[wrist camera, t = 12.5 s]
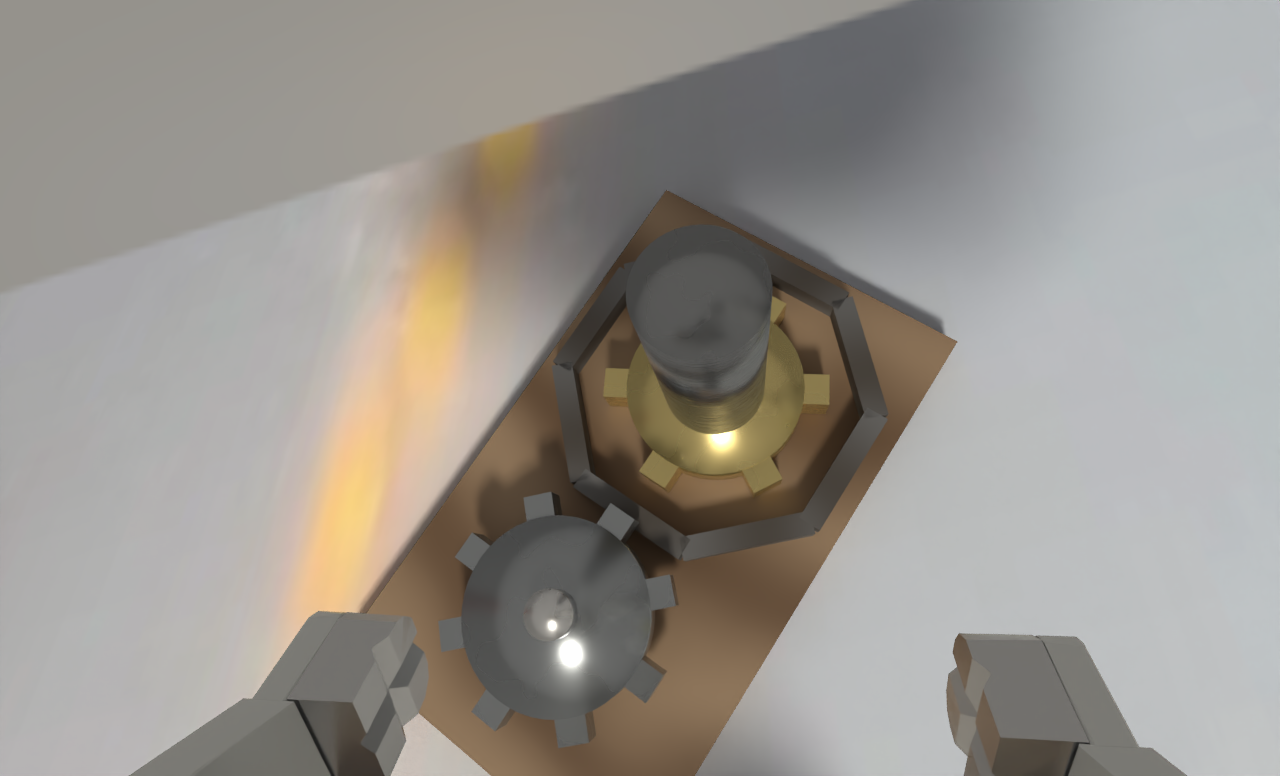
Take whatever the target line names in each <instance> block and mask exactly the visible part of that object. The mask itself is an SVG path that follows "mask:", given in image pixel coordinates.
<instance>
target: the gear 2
mask: <svg viewBox="0 0 1280 776" xmlns="http://www.w3.org/2000/svg"><path fill="white" fill-rule="evenodd" d="M772 293H773V287H772V278H771V273H770V270H769V267H768V265H767V263H766V261H765V259H764V257H763V256H762V254H761V253H760V251H759V250H758V249H757V248H756V247H755V246H754V245H753V244H752V243H751V242H750V241H749V240H748V239H746V238H745V237H743V236H742V235H740V234H738V233H737V232H734V231H732V230H730V229H727V228H724V227H720V226H715V225H704V224H700V225H690V226H684V227H681V228H677V229H674V230H672V231H670V232H667V233H665V234H664V235H662V236H660V237H658V238H657V239H656V240H654V241H653V242H652V243H650V244H649V245H648V246H647V247H646V248H645V249H644V250H643V252H642V253H641V254H640V255H639V256H638V258H637V260H636V261H635V263H634V265H633V267H632V269H631V271H630V274H629V277H628V281H627V286H626V304H627V309H628V313H629V316H630V319H631V321H632V323H633V326H634V328H635V330H636V332H637V335H638V337H639V339H640V342H641V344H640V345H639V347H638V349H637V350H636V352H635V354H634V357H633V359H632V361H631V365H630V368H629V369H617V368H606V371H605V382H604V393H603V397H604V398H605V400H606V401H607V402H608V404H609V405H610V406H623V407H629V411H630V415H631V417H632V420H633V422H634V425H635V427H636V428H637V430H638V432H639V434H640V435H641V437H642V438H643V440H644V441H645V442H646V444H647V445H648V446H649V448H650V449H651V450H652V453H651V454H650V456H649V457H648V458H647V460H646V461H645V463H644V464H643V466H642V467H641V469H640V470H639V472H640V473H641V474H642V475H643V476H644V477H645V478H647V479H648V480H650V481H651V482H653V483H654V484H656V485H657V486H659V487H660V488H662V489H663V490H665V491H666V492H668V493H669V492H670V491H671V489H672V488H673V486H674V485H675V483H676V482H677V480H678V479H679V477H680V476H681V474H682V473H684V474H686V475H689V476H692V477H696V478H700V479H708V480H726V479H733V478H737V477H741V476H742V477H743V479H744V481H745V483H746V485H747V486H748V488H749V490H750V492H751V494H752V496H753V498H755V497H757V496H759V495H761V494H763V493H765V492H767V491H769V490H771V489H773V488H775V487H777V486H779V485H781V482H782V479H783V478H782V477H781V475H780V473H779V471H778V469H777V468H776V466H775V464H774V462H773V459H774V458H775V457H776V456H777V455H778V454H779V453H780V452H781V451H782V450H783V449H784V447H785V446H786V445H787V443H788V442H789V440H790V438H791V437H792V435H793V433H794V431H795V428H796V426H797V423H798V421H799V417H800V414H801V413H806V414H826V411H827V409H828V407H829V379H830V375H822V374H804V373H803V368H802V365H801V362H800V359H799V356H798V354H797V352H796V350H795V348H794V346H793V344H792V343H791V341H790V340H789V338H788V337H787V336H786V335H785V334H784V332H783V331H782V330H781V329H780V328H779V325H780V324H781V322H782V321H783V319H784V318H785V311H786V303H784V302H782V301H781V300H779V299H777V298H775V297H773V296H772Z"/></svg>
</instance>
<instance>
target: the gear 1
mask: <svg viewBox="0 0 1280 776" xmlns="http://www.w3.org/2000/svg"><path fill="white" fill-rule="evenodd" d="M524 505H525V512H526V519H527V521H526V522H524V523H522V524H519V525H517V526H515V527H514V528H512V529H510V530H509V531H507V532H506V533H504V534H503V535H502V536H501V537H499V538H498V539H497V540H496V541H495V542H493V541H491V540H490V539H489V538H487V537H486V536H485V535H482V534H477V533H471V535H470V536H469V538H468V539H467V540H466V542H465V543H464V545H463V546H462V548H461V549H460V550H459V552H458V553H457V555H456V556H455V558H457V559H458V560H459V561H461V562H462V563H463V564H464V565H466V566H467V567H468V568H470V569H471V570H472V571H473V572H472V574H471V576H470V578H469V581H468V584H467V587H466V590H465V593H464V599H463V604H462V614H461V617H456V618H451V619H446V620H441V621H438V623H439V634H440V644H441V652H445V651H450V650H455V649H460V648H465V651H466V654H467V657H468V660H469V662H470V664H471V666H472V669H473V671H474V672H475V674H476V676H477V677H478V679H479V681H480V682H481V683H482V684H483V686H484V687H485V688H486V690H485V692H484V693H483V695H482V696H481V698H480V699H479V701H478V702H477V704H476V705H475V707H474V708H473V710H472V711H471V712H472V713H473V714H475V715H476V716H477V717H478V718H479V719H481V720H482V721H483V722H484V723H485V724H487V725H488V726H489V727H490V728H491V729H493V730H494V731H497V730H498V729H500V728H502V727H504V726H505V725H507V723H508V722H509V720H510V718H511V717H512V715H513V714H514V712H515V711H516V712H518V713H520V714H523V715H526V716H529V717H533V718H538V719H544V720H554V722H555V729H556V736H557V743H558V748H563V747H568V746H574V745H579V744H585V743H589V742H590V741H591V740H592V739H593V738H594V737H595V736H596V731H595V724H594V718H593V710H595V709H597V708H598V707H600V706H602V705H603V704H605V703H606V702H608V701H609V700H610V699H611V698H613V697H614V696H615V695H616V694H618V693H619V692H620V691H621V690H623V688H624V687H625V688H626V689H627V690H629V691H630V692H631V693H633V694H634V695H635V696H637V697H638V698H639V699H640V700H642V701H643V702H644V703H647V701H648V700H649V699H650V698H651V696H652V695H653V693H654V692H655V690H656V688H657V687H658V685H659V684H660V682H661V680H662V679H663V677H664V676H665V674H666V672H667V671H666V670H665V669H663V668H662V667H660V666H659V665H658V664H656V663H655V662H654V661H652V660H651V659H650V658H648V657H647V656H646V655H647V653H648V650H649V648H650V645H651V641H652V637H653V633H654V625H655V610H658V609H663V608H668V607H673V606H678V605H679V602H678V597H677V592H676V587H675V582H674V577H673V575H665V576H660V577H655V578H650V579H649V577H648V575H647V572H646V570H645V568H644V566H643V564H642V563H641V561H640V559H639V558H638V556H637V555H636V554H635V552H634V551H633V550H632V549H631V547H630V546H629V545H628V544H627V543H626V542H627V540H628V539H629V537H630V536H631V534H632V533H633V531H634V530H635V528H636V527H637V525H638V524H639V522H638V521H637V520H635V519H634V518H632V517H631V516H629V515H628V514H626V513H625V512H623V511H622V510H621V509H619V508H618V507H616V506H615V505H613V504H611V503H610V505H609V506H608V508H607V509H606V511H605V512H604V514H603V515H602V517H601V518H600V520H599V521H598V523H597V524H595V523H593V522H591V521H588V520H585V519H581V518H578V517H572V516H564V515H562V510H561V503H560V497H559V495H557V494H555V493H553V492H547V493H543V494H538V495H533V496H529V497H524Z"/></svg>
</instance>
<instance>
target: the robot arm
mask: <svg viewBox="0 0 1280 776" xmlns="http://www.w3.org/2000/svg"><path fill="white" fill-rule="evenodd" d="M416 634H417V630H416V627H415V625H414V622H413V620H412V617H408V616H399V615H382V614H366V613H350V612H347V613H345V612H325V611H318V612H316V613H315V614H314V615H312V616H311V617H309V618H308V619H307V621H306V622H305V624H304V625H303V626H302V628H301V629H300V631H299V632H298V634H297V635H296V636H295V638H294V639H293V641H292V642H291V644H290V645H289V647H288V648H287V649H286V651H285V652H284V654H283V655H282V657H281V658H280V660H279V661H278V662H277V664H276V665H275V667H274V668H273V670H272V671H271V673H270V674H269V675H268V677H267V678H266V680H265V681H264V683H263V684H262V686H261V687H260V688H259V690H258V691H257V693H256V694H255V696H254V697H253V699H242V700H241V701H239V702H238V703H236V704H235V705H233V706H232V707H230V708H229V709H227V710H226V711H224V712H223V713H221V714H220V715H218V716H217V717H215V718H214V719H212V720H211V721H209V722H208V723H206V724H205V725H203V726H202V727H200V728H199V729H198V730H196V731H195V732H193V733H192V734H190V735H189V736H187V737H186V738H184V739H183V740H181V741H180V742H178V743H177V744H175V745H174V746H172V747H171V748H169V749H168V750H166V751H165V752H163V753H162V754H160V755H159V756H157V757H156V758H154V759H153V760H152V761H150V762H149V763H147V764H146V765H144V766H143V767H141V768H140V769H138V770H137V771H135V772H134V773H132V774H131V775H129V776H391V773H392V771H393V769H394V767H395V764H396V762H397V760H398V758H399V756H400V753H401V751H402V749H403V747H404V744H405V742H406V738H405V734H404V730H403V726H404V725H405V724H406V723H408V722H409V721H410V720H411V719H412V718H414V717H415V716H416V715H417V714H418V713H419V710H420V708H421V706H422V703H423V701H424V699H425V696H426V690H427V685H428V679H429V672H428V662H427V659H426V656H425V653H424V651H423V650H421V649H420V648H419V647H418V646H417V645H415V644H414V643H413V640H414V638H415V636H416ZM953 654H954V658H955V661H956V664H957V668H955V669H954V670H953V671H952V672H950V673H949V675H948V682H947V690H946V693H947V712H948V717H949V723H950V728H951V731H952V735H953V739H954V742H955V744H956V745H957V746H958V747H959V748H960V749H961V750H962V751H963V752H964V753H965V754H966V755H967V756H968V758H967V762H966V767H965V772H964V776H1187V775H1186V774H1184V773H1183V772H1182V771H1181V770H1179V769H1178V768H1177V767H1176V766H1174V765H1173V764H1172V763H1170V762H1169V761H1168V760H1167V759H1165V758H1164V757H1163V756H1162V755H1160V754H1159V753H1158V752H1156V751H1155V750H1154V749H1153V748H1144V747H1139V746H1138V744H1137V742H1136V740H1135V738H1134V736H1133V734H1132V733H1131V731H1130V729H1129V727H1128V725H1127V723H1126V721H1125V720H1124V718H1123V716H1122V714H1121V712H1120V710H1119V708H1118V706H1117V705H1116V703H1115V701H1114V699H1113V697H1112V695H1111V693H1110V692H1109V690H1108V688H1107V686H1106V684H1105V682H1104V680H1103V679H1102V677H1101V675H1100V673H1099V671H1098V669H1097V667H1096V665H1095V664H1094V662H1093V660H1092V658H1091V656H1090V654H1089V652H1088V651H1087V649H1086V647H1085V645H1084V643H1083V642H1082V641H1081V640H1079V639H1078V638H1077V637H1068V636H1033V635H1010V634H963V633H959V634H958V636H957V637H956V639H955V643H954V648H953Z"/></svg>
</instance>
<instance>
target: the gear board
mask: <svg viewBox="0 0 1280 776" xmlns="http://www.w3.org/2000/svg"><path fill="white" fill-rule="evenodd" d="M700 224H704V225H715V226H720V227H724V228H727V229H730V230H732V231H734V232H737V233H738V234H740V235H742V236H743V237H745V238H746V239H748V240H749V241H750V242H751V243H752V244H753V245H754V246H755V247H756V248H757V249H758V250H759V251H760V253H761V254H762V256H763V257H764V259H765V261H766V263H767V265H768V267H769V270H770V273H771V278H772V287H773V293H772V296H773V297H775V298H777V299H779V300H781V301H782V302H784V303H786V311H785V318H784V319H783V321H782V322H781V324H780V325H779V328H780V329H781V330H782V331H783V332H784V334H785V335H786V336H787V337H788V338H789V340H790V341H791V343H792V344H793V346H794V348H795V350H796V352H797V354H798V356H799V359H800V362H801V365H802V368H803V373H804V374H822V375H830V379H829V407H828V409H827V411H826V414H806V413H801V414H800V417H799V421H798V423H797V426H796V428H795V431H794V433H793V435H792V437H791V438H790V440H789V442H788V443H787V445H786V446H785V447H784V449H783V450H782V451H781V452H780V453H779V454H778V455H777V456H776V457H775V458H774V459H773V462H774V464H775V466H776V468H777V469H778V471H779V473H780V475H781V477H782V478H783V479H782V482H781V485H779V486H777V487H775V488H773V489H771V490H769V491H767V492H765V493H763V494H761V495H759V496H757V497H755V498H753V496H752V494H751V492H750V490H749V488H748V486H747V485H746V483H745V481H744V479H743V477H742V476H741V477H737V478H733V479H726V480H708V479H700V478H696V477H692V476H689V475H686V474H684V473H682V474H681V476H680V477H679V479H678V480H677V482H676V483H675V485H674V486H673V488H672V489H671V491H670V492H669V493H668V492H666V491H665V490H663V489H662V488H660V487H659V486H657V485H656V484H654V483H653V482H651V481H650V480H648V479H647V478H645V477H644V476H643V475H642V474H641V473H640V472H639V470H640V469H641V467H642V466H643V464H644V463H645V461H646V460H647V458H648V457H649V456H650V454H651V453H652V450H651V449H650V448H649V446H648V445H647V444H646V442H645V441H644V440H643V438H642V437H641V435H640V434H639V432H638V430H637V428H636V427H635V425H634V422H633V420H632V417H631V415H630V411H629V407H623V406H610V405H609V404H608V402H607V401H606V400H605V398H604V397H603V393H604V382H605V371H606V368H617V369H629V368H630V365H631V361H632V359H633V357H634V354H635V352H636V350H637V349H638V347H639V345H640V344H641V342H640V339H639V337H638V335H637V332H636V330H635V328H634V326H633V323H632V321H631V319H630V316H629V313H628V309H627V304H626V286H627V281H628V277H629V274H630V271H631V269H632V267H633V265H634V263H635V261H636V260H637V258H638V256H639V255H640V254H641V253H642V252H643V250H644V249H645V248H646V247H647V246H648V245H649V244H650V243H652V242H653V241H654V240H656V239H657V238H658V237H660V236H662V235H664V234H665V233H667V232H670V231H672V230H674V229H677V228H681V227H684V226H690V225H700ZM956 343H957V341H955V340H953V339H951V338H949V337H948V336H946V335H944V334H942V333H940V332H938V331H936V330H934V329H932V328H930V327H928V326H926V325H925V324H923V323H921V322H919V321H917V320H915V319H913V318H911V317H909V316H907V315H905V314H903V313H901V312H900V311H898V310H896V309H894V308H892V307H890V306H888V305H886V304H884V303H882V302H880V301H878V300H876V299H875V298H873V297H871V296H869V295H867V294H865V293H863V292H861V291H859V290H857V289H855V288H853V287H852V286H850V285H848V284H846V283H844V282H842V281H840V280H838V279H836V278H834V277H832V276H830V275H828V274H827V273H825V272H823V271H821V270H819V269H817V268H815V267H813V266H811V265H809V264H807V263H805V262H803V261H802V260H800V259H798V258H796V257H794V256H792V255H790V254H788V253H786V252H784V251H782V250H780V249H779V248H777V247H775V246H773V245H771V244H769V243H767V242H765V241H763V240H761V239H759V238H757V237H755V236H754V235H752V234H750V233H748V232H746V231H744V230H742V229H740V228H738V227H736V226H734V225H732V224H730V223H729V222H727V221H725V220H723V219H721V218H719V217H717V216H715V215H713V214H711V213H709V212H707V211H706V210H704V209H702V208H700V207H698V206H696V205H694V204H692V203H690V202H688V201H686V200H684V199H682V198H681V197H679V196H677V195H675V194H673V193H671V192H669V191H667V190H666V191H665V193H664V194H663V196H662V197H661V198H660V200H659V201H658V203H657V204H656V205H655V207H654V208H653V210H652V211H651V212H650V214H649V215H648V217H647V218H646V220H645V221H644V222H643V224H642V225H641V227H640V228H639V229H638V231H637V232H636V234H635V235H634V236H633V238H632V239H631V241H630V242H629V244H628V245H627V246H626V248H625V249H624V251H623V252H622V253H621V255H620V256H619V258H618V259H617V260H616V262H615V263H614V265H613V266H612V267H611V269H610V270H609V272H608V273H607V275H606V276H605V277H604V279H603V280H602V282H601V283H600V284H599V286H598V287H597V289H596V290H595V291H594V293H593V294H592V296H591V297H590V299H589V300H588V301H587V303H586V304H585V306H584V307H583V308H582V310H581V311H580V313H579V314H578V315H577V317H576V318H575V320H574V321H573V322H572V324H571V325H570V327H569V328H568V330H567V331H566V332H565V334H564V335H563V337H562V338H561V339H560V341H559V342H558V344H557V345H556V346H555V348H554V349H553V351H552V352H551V353H550V355H549V356H548V358H547V359H546V361H545V362H544V363H543V365H542V366H541V368H540V369H539V370H538V372H537V373H536V375H535V376H534V377H533V379H532V380H531V382H530V383H529V385H528V386H527V387H526V389H525V390H524V392H523V393H522V394H521V396H520V397H519V399H518V400H517V401H516V403H515V404H514V406H513V407H512V408H511V410H510V411H509V413H508V414H507V416H506V417H505V418H504V420H503V421H502V423H501V424H500V425H499V427H498V428H497V430H496V431H495V432H494V434H493V435H492V437H491V438H490V439H489V441H488V442H487V444H486V445H485V447H484V448H483V449H482V451H481V452H480V454H479V455H478V456H477V458H476V459H475V461H474V462H473V463H472V465H471V466H470V468H469V469H468V471H467V472H466V473H465V475H464V476H463V478H462V479H461V480H460V482H459V483H458V485H457V486H456V487H455V489H454V490H453V492H452V493H451V494H450V496H449V497H448V499H447V500H446V502H445V503H444V504H443V506H442V507H441V509H440V510H439V511H438V513H437V514H436V516H435V517H434V518H433V520H432V521H431V523H430V524H429V526H428V527H427V528H426V530H425V531H424V533H423V534H422V535H421V537H420V538H419V540H418V541H417V542H416V544H415V545H414V547H413V548H412V549H411V551H410V552H409V554H408V555H407V557H406V558H405V559H404V561H403V562H402V564H401V565H400V566H399V568H398V569H397V571H396V572H395V573H394V575H393V576H392V578H391V579H390V580H389V582H388V583H387V585H386V586H385V588H384V589H383V590H382V592H381V593H380V595H379V596H378V597H377V599H376V600H375V602H374V603H373V604H372V606H371V607H370V609H369V610H368V612H367V613H366V614H382V615H399V616H408V617H412V620H413V622H414V625H415V627H416V630H417V634H416V636H415V638H414V640H413V643H414V644H415V645H417V646H418V647H419V648H420V649H421V650H423V651H424V653H425V656H426V659H427V662H428V672H429V679H428V685H427V690H426V696H425V699H424V701H423V703H422V706H421V708H420V710H419V714H421V715H422V716H423V717H424V718H425V719H426V720H427V721H429V722H430V723H431V724H432V725H433V726H434V727H436V728H437V729H438V730H439V731H440V732H441V733H443V734H444V735H445V736H446V737H447V738H448V739H449V740H451V741H452V742H453V743H454V744H455V745H456V746H458V747H459V748H460V749H461V750H462V751H463V752H465V753H466V754H467V755H468V756H469V757H470V758H471V759H473V760H474V761H475V762H476V763H477V764H478V765H480V766H481V767H482V768H483V769H484V770H485V771H487V772H488V773H489V774H490V775H491V776H695V774H696V773H697V771H698V769H699V768H700V766H701V764H702V763H703V761H704V759H705V758H706V756H707V754H708V753H709V751H710V749H711V748H712V746H713V744H714V743H715V741H716V740H717V738H718V736H719V735H720V733H721V731H722V730H723V728H724V726H725V725H726V723H727V721H728V720H729V718H730V716H731V715H732V713H733V711H734V710H735V708H736V707H737V705H738V703H739V702H740V700H741V698H742V697H743V695H744V693H745V692H746V690H747V688H748V687H749V685H750V683H751V682H752V680H753V678H754V677H755V675H756V673H757V672H758V670H759V669H760V667H761V665H762V664H763V662H764V660H765V659H766V657H767V655H768V654H769V652H770V650H771V649H772V647H773V645H774V644H775V642H776V640H777V639H778V637H779V635H780V634H781V632H782V631H783V629H784V627H785V626H786V624H787V622H788V621H789V619H790V617H791V616H792V614H793V612H794V611H795V609H796V607H797V606H798V604H799V602H800V601H801V599H802V598H803V596H804V594H805V593H806V591H807V589H808V588H809V586H810V584H811V583H812V581H813V579H814V578H815V576H816V574H817V573H818V571H819V569H820V568H821V566H822V564H823V563H824V561H825V560H826V558H827V556H828V555H829V553H830V551H831V550H832V548H833V546H834V545H835V543H836V541H837V540H838V538H839V536H840V535H841V533H842V531H843V530H844V528H845V526H846V525H847V523H848V522H849V520H850V518H851V517H852V515H853V513H854V512H855V510H856V508H857V507H858V505H859V503H860V502H861V500H862V498H863V497H864V495H865V493H866V492H867V490H868V489H869V487H870V485H871V484H872V482H873V480H874V479H875V477H876V475H877V474H878V472H879V470H880V469H881V467H882V465H883V464H884V462H885V460H886V459H887V457H888V455H889V454H890V452H891V451H892V449H893V447H894V446H895V444H896V442H897V441H898V439H899V437H900V436H901V434H902V432H903V431H904V429H905V427H906V426H907V424H908V422H909V421H910V419H911V417H912V416H913V414H914V413H915V411H916V409H917V408H918V406H919V404H920V403H921V401H922V399H923V398H924V396H925V394H926V393H927V391H928V389H929V388H930V386H931V384H932V383H933V381H934V379H935V378H936V376H937V375H938V373H939V371H940V370H941V368H942V366H943V365H944V363H945V361H946V360H947V358H948V356H949V355H950V353H951V351H952V350H953V348H954V346H955V345H956ZM547 492H553V493H555V494H557V495H559V497H560V503H561V510H562V515H564V516H572V517H578V518H581V519H585V520H588V521H591V522H593V523H595V524H597V523H598V521H599V520H600V518H601V517H602V515H603V514H604V512H605V511H606V509H607V508H608V506H609V505H610V503H611V504H613V505H615V506H616V507H618V508H619V509H621V510H622V511H623V512H625V513H626V514H628V515H629V516H631V517H632V518H634V519H635V520H637V521H638V522H639V524H638V525H637V527H636V528H635V530H634V531H633V533H632V534H631V536H630V537H629V539H628V540H627V542H626V543H627V544H628V545H629V546H630V547H631V549H632V550H633V551H634V552H635V554H636V555H637V556H638V558H639V559H640V561H641V563H642V564H643V566H644V568H645V570H646V572H647V575H648V577H649V579H650V578H655V577H660V576H665V575H673V577H674V582H675V587H676V592H677V597H678V602H679V605H678V606H673V607H668V608H663V609H658V610H655V625H654V633H653V637H652V641H651V645H650V648H649V650H648V653H647V655H646V656H647V657H648V658H650V659H651V660H652V661H654V662H655V663H656V664H658V665H659V666H660V667H662V668H663V669H665V670H666V671H667V672H666V674H665V676H664V677H663V679H662V680H661V682H660V684H659V685H658V687H657V688H656V690H655V692H654V693H653V695H652V696H651V698H650V699H649V700H648V701H647V703H644V702H643V701H642V700H640V699H639V698H638V697H637V696H635V695H634V694H633V693H631V692H630V691H629V690H627V689H626V688H625V687H624V688H623V690H621V691H620V692H619V693H618V694H616V695H615V696H614V697H613V698H611V699H610V700H609V701H608V702H606V703H605V704H603V705H602V706H600V707H598V708H597V709H595V710H593V718H594V724H595V731H596V736H595V737H594V738H593V739H592V740H591V741H590V742H589V743H585V744H579V745H574V746H568V747H563V748H558V743H557V736H556V729H555V722H554V720H544V719H538V718H533V717H529V716H526V715H523V714H520V713H518V712H516V711H515V712H514V714H513V715H512V717H511V718H510V720H509V722H508V723H507V725H505V726H504V727H502V728H500V729H498V730H497V731H494V730H493V729H491V728H490V727H489V726H488V725H487V724H485V723H484V722H483V721H482V720H481V719H479V718H478V717H477V716H476V715H475V714H473V713H472V712H471V711H472V710H473V708H474V707H475V705H476V704H477V702H478V701H479V699H480V698H481V696H482V695H483V693H484V692H485V690H486V688H485V687H484V686H483V684H482V683H481V682H480V681H479V679H478V677H477V676H476V674H475V672H474V671H473V669H472V666H471V664H470V662H469V660H468V657H467V654H466V651H465V648H460V649H455V650H450V651H445V652H441V644H440V634H439V623H438V621H441V620H446V619H451V618H456V617H461V614H462V604H463V599H464V593H465V590H466V587H467V584H468V581H469V578H470V576H471V574H472V572H473V571H472V570H471V569H470V568H468V567H467V566H466V565H464V564H463V563H462V562H461V561H459V560H458V559H457V558H455V556H456V555H457V553H458V552H459V550H460V549H461V548H462V546H463V545H464V543H465V542H466V540H467V539H468V538H469V536H470V535H471V533H477V534H482V535H485V536H486V537H487V538H489V539H490V540H491V541H493V542H495V541H496V540H497V539H498V538H499V537H501V536H502V535H503V534H504V533H506V532H507V531H509V530H510V529H512V528H514V527H515V526H517V525H519V524H522V523H524V522H526V521H527V519H526V512H525V505H524V497H529V496H533V495H538V494H543V493H547Z"/></svg>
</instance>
